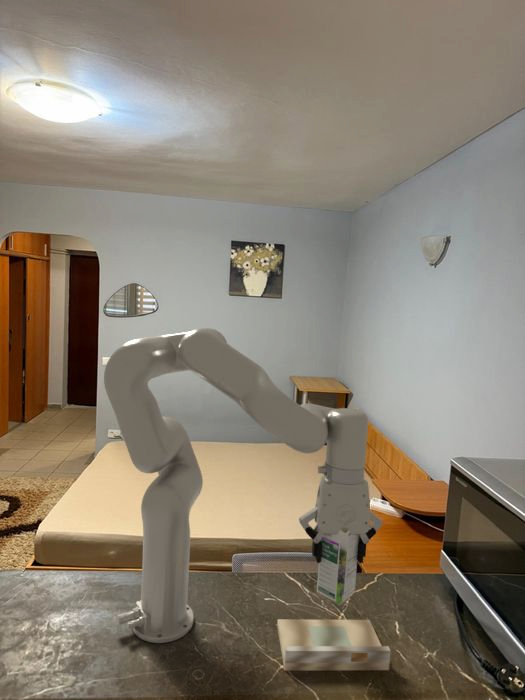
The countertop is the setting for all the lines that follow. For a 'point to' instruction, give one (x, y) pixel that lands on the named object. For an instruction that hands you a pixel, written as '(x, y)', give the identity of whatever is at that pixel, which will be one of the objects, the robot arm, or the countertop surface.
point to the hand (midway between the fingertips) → (338, 558)
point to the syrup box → (338, 566)
